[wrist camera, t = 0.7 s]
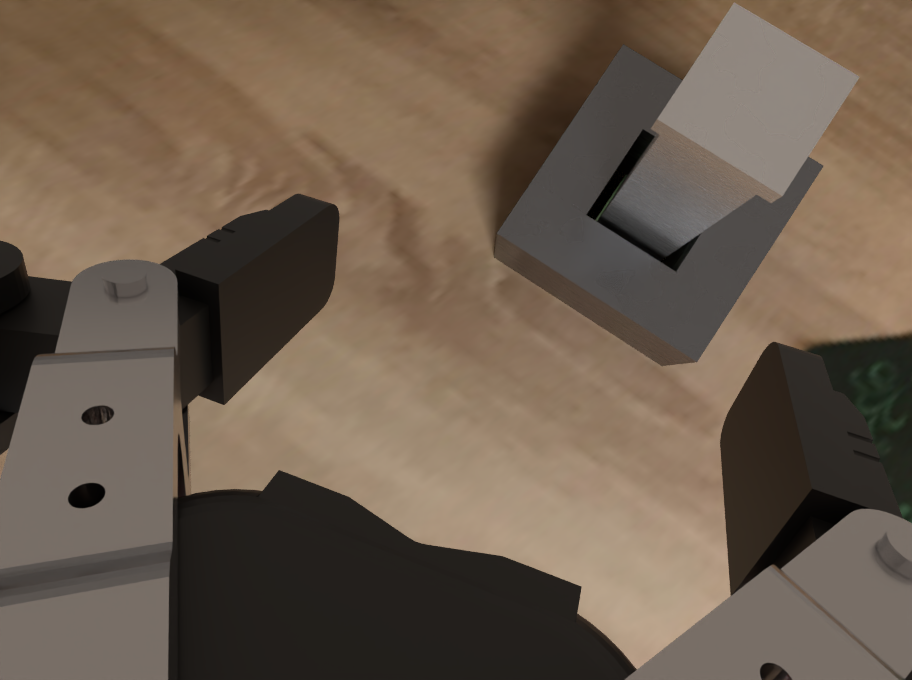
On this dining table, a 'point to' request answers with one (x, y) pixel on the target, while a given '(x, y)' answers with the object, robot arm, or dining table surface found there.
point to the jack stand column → (727, 134)
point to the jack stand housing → (615, 259)
